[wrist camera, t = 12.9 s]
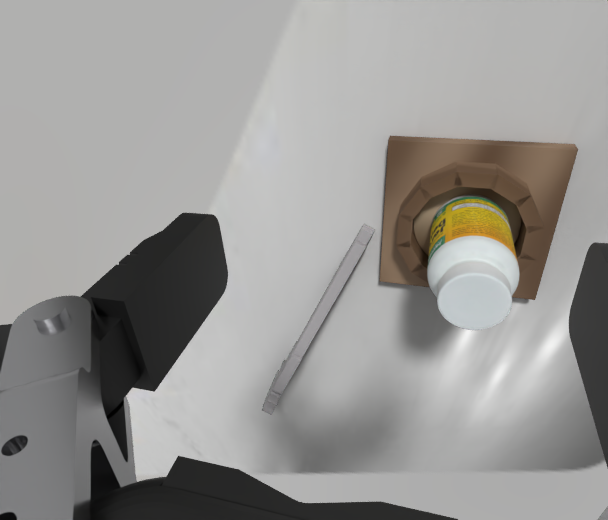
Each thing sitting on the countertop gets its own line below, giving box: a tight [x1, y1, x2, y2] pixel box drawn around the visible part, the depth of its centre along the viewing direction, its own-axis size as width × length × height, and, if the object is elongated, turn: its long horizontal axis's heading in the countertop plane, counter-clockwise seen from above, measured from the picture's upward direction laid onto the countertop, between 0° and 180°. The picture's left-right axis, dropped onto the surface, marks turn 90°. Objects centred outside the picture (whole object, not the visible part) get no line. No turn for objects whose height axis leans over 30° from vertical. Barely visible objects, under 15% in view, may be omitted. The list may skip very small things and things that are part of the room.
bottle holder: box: [380, 136, 578, 300], centre depth 34 cm, size 12×12×3 cm
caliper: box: [262, 224, 374, 415], centre depth 41 cm, size 21×1×6 cm, turn 157°
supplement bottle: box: [427, 195, 520, 330], centre depth 30 cm, size 5×5×10 cm
